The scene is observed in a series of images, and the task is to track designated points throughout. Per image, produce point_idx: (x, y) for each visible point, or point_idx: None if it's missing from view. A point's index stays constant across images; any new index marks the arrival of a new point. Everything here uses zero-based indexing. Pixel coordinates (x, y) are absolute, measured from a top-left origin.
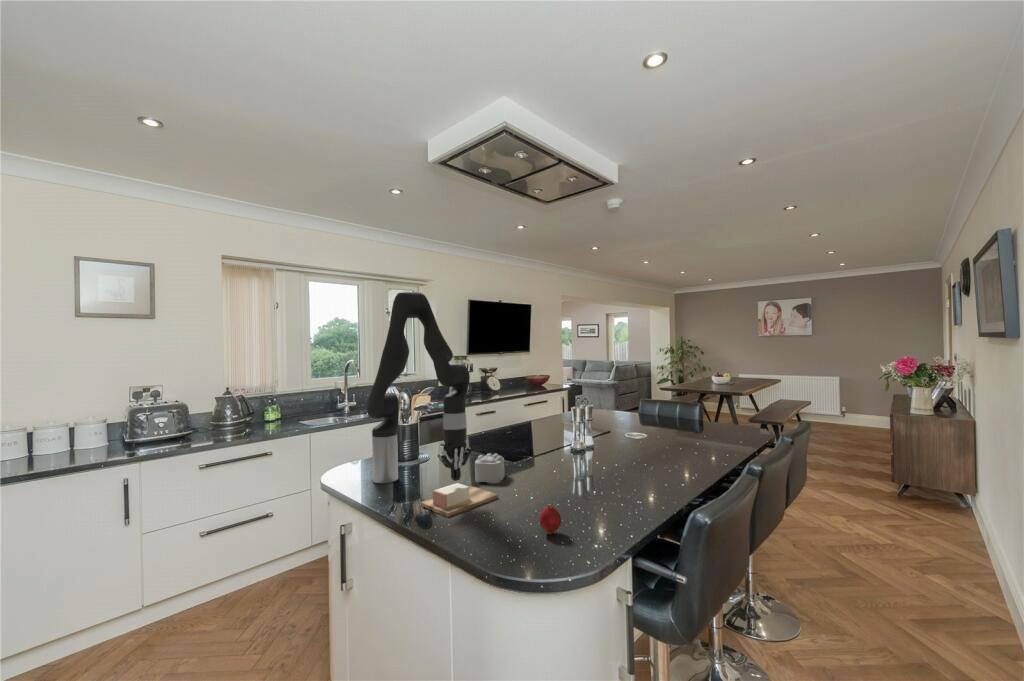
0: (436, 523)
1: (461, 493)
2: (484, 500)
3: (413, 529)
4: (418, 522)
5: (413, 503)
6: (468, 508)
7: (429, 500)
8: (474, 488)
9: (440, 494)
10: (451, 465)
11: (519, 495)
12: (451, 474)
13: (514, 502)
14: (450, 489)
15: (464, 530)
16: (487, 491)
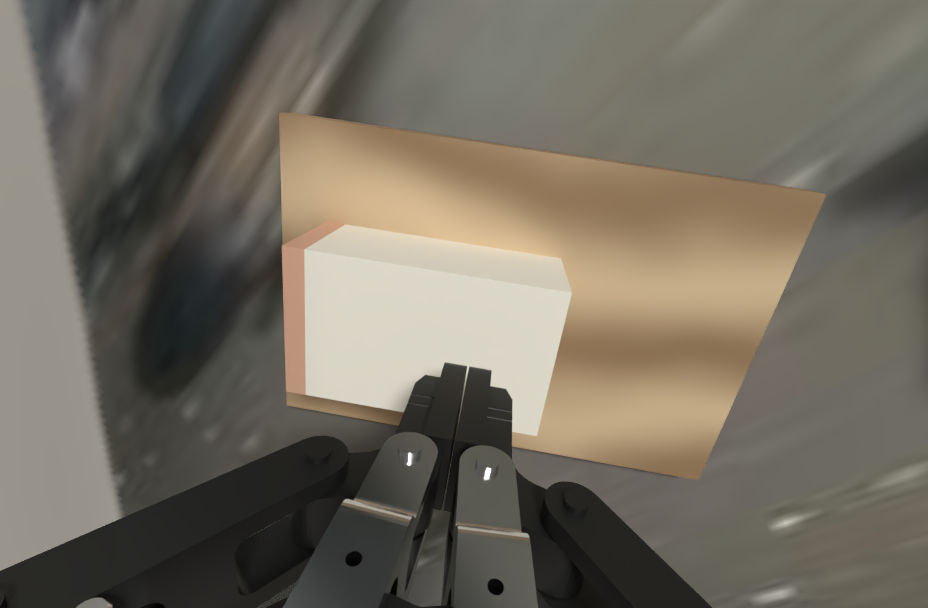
0: (214, 391)
1: None
2: (574, 453)
3: (95, 345)
4: (151, 307)
5: (289, 9)
6: None
7: (349, 149)
8: (763, 276)
9: (288, 342)
10: (307, 557)
11: (787, 537)
12: (406, 409)
13: (662, 556)
14: (399, 352)
15: None
16: (729, 398)
